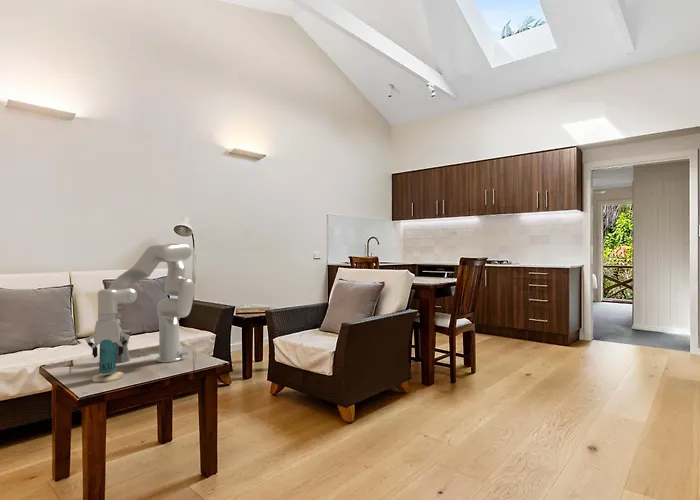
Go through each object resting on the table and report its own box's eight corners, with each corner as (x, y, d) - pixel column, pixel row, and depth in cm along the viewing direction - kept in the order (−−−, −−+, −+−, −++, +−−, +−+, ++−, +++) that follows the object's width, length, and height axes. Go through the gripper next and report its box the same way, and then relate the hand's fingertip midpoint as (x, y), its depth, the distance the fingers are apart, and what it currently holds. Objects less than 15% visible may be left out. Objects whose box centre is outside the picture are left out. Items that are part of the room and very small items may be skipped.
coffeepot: (137, 359, 215) (137, 324, 216) (125, 363, 206) (125, 327, 206) (110, 358, 218) (110, 324, 218) (97, 362, 208) (97, 327, 208)
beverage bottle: (104, 373, 186) (104, 328, 186) (119, 373, 185) (119, 328, 186) (95, 377, 179) (95, 331, 179) (110, 377, 179) (110, 331, 179)
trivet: (126, 373, 190) (126, 370, 190) (120, 380, 178) (120, 377, 178) (96, 375, 186) (96, 372, 186) (88, 383, 175) (88, 380, 175)
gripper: (131, 315, 189) (131, 352, 188) (88, 317, 183) (88, 355, 183) (127, 317, 181) (128, 356, 181) (82, 319, 176) (82, 359, 176)
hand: (108, 356), depth 182 cm, fingers open, 9 cm apart
